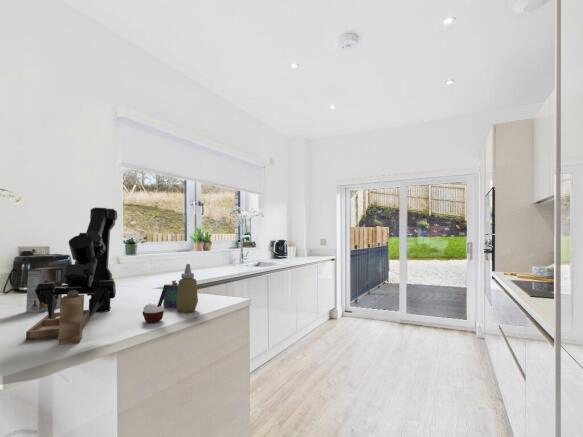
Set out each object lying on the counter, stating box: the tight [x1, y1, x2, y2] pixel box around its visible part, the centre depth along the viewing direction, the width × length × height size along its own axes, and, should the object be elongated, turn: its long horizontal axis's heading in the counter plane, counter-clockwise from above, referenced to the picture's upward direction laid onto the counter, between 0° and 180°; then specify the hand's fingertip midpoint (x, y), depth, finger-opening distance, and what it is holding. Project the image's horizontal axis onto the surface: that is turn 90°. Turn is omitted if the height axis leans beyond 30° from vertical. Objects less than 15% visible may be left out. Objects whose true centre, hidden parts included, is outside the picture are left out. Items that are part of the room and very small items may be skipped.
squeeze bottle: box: [176, 263, 199, 314], centre depth 120 cm, size 8×8×18 cm
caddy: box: [25, 309, 92, 342], centre depth 97 cm, size 12×23×2 cm, turn 26°
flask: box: [162, 280, 179, 309], centre depth 127 cm, size 9×3×11 cm, turn 71°
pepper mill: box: [57, 290, 85, 346], centre depth 85 cm, size 5×5×14 cm
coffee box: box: [25, 266, 63, 313], centre depth 121 cm, size 9×6×16 cm
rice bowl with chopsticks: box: [142, 285, 167, 324], centre depth 104 cm, size 10×6×12 cm, turn 48°
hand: (70, 316), depth 84 cm, fingers open, 9 cm apart
